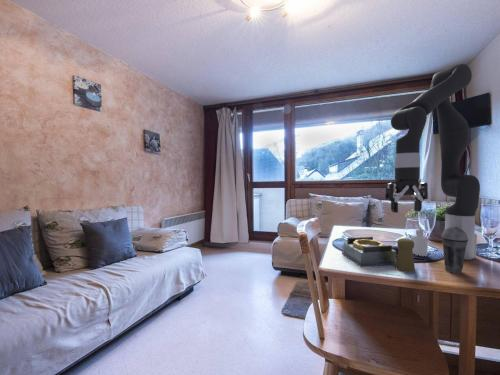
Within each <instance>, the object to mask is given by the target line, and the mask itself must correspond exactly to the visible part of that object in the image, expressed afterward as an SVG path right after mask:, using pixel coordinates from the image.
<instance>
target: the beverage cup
mask: <svg viewBox="0 0 500 375" xmlns="http://www.w3.org/2000/svg"><path fill="white" fill-rule="evenodd" d="M440 237H441V242H442V248H443V249H442V250H443V262H444V270H445V271H446V272H448V273H451V274H458V275H459V274H462V273H463V269H464V264H465V263H464V261H465V260H464V256H465V250H466V246H467V242H468V237H467V234H466V233H465V232H464V231H463V230H462V229H460V228H458V227H454V215H452V227H449V228H447V229H446V230H445V229H444V230H443V232H442V234H441V236H440Z"/></svg>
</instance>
